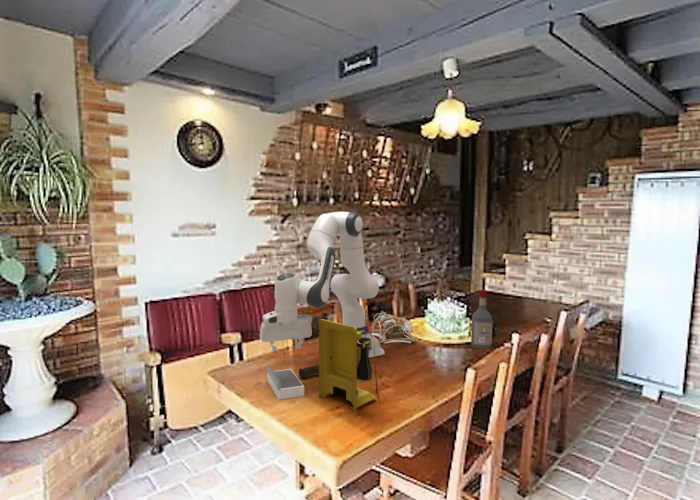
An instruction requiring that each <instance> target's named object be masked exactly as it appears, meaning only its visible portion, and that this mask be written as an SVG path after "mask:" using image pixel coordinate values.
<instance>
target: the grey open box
mask: <svg viewBox="0 0 700 500" xmlns="http://www.w3.org/2000/svg"><path fill="white" fill-rule="evenodd" d="M266 370H267V371H266V374H267V379H266V380H267V382H268V385H269V386H270V388H271V390H272V392H273V393H274V395H275V397H276V399H277V401H280V400H282V401H283V400H287V399H294V398H295V399H296V398H301V397H305V385H304V384H303V383H302V381H301V380H300V379H299V377H298V376H297V375H296V373H295V372H294V371H293V369H292V368H289V369H287V368H285V369H280V370H274V369H273V367H272V366H271V364H267V367H266Z"/></svg>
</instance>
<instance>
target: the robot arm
mask: <svg viewBox="0 0 700 500" xmlns="http://www.w3.org/2000/svg"><path fill="white" fill-rule="evenodd" d="M363 227H364V221H363V218H362V216H361V214H360V213H358V212H354V211H350V212H349V211H333V212H332V211H331V212H329V211H328V212H324V213H322V214H320V215H319V216H318V217H317V219H316V220H315V222H314V223H313V225H312V227H311V230H310V231H309V233H308V237H307V240H306V247H307V250H308V252H309V253H310V254H311V255H312V256H314V257H315V258H316V259H318V260H319V261H320V262H321V263H320V269H319V272H318V276H317V279H316V280H314V281H313V280H311V281H310V280H303V279H301V278H298V277H297V276H296V274H294V273H289V272H287V273H281V274H280V275H278V276H277V277H276V279H275V284H274V300H275V304H274V305H275V306H274V310H273V311H270V312H267V313H265V314H263V315H262V322H261V324H260V329H259V339H260V341H262V343H266V342H267V343H269V345H270V346H271V351H272V353H277V352H278V349H277V348H278V347H277V346H274V344H275V342H277V341H288V340H297V339H298V342H297V343H295V349H296V350H301V345H302V343H303V341H304V339H306V338H311V336H313V329H312V323H313V318H312V316H311V315H310V314H309V313H305V314H301V313H300V314H299V313H298V305H299V304H300V305H304V306H309V307H313V308H316V309H320V308H323V307H324V306H325V305H326V304H327V303H328V302H329V300H330V294H331V292H332V293H334V295H335V296H336V298H337V299H338V301H339V303H340V306H341V312H342V313H341V314H342V318H341V319H342V324H345V325H350V326H354V327H356V328H357V331H358V332H362V337H364V338H370V339H371V342H372V345H371V346H369V359H370V358H376V357H378V356H383V355H385V354H386V353H385V352H386V351H385V350H384V349H383V348H382V347H381V343H380V340H378V339H377V337H375V335H372V336H371V334H369V333H370V332H372V330H373V329H372V326H369V325H367V324H366V309H365V308H364V306H363V305H362V304H360V302H359V301H358V299H360V300H361V299H363V300H367V299H374V298H375V297H376V296H377V294H379V290H380V285H379V282H378V280H377V279H376V278H375V277H374V276H373V275H372V273H370V271H369V269H368V267H367V264H366V262H365V254H364V241H363V236H362V231H363ZM336 237H339V251H340V263H341V265H342V266H343V267H344V268H345V269H346V270H347V271H348V272H349V273H340V274H339V273H338V274H335V275H333V273H334V269H335V263H336V262H335V261H336V250H335V249H334V244H335V240H336ZM367 332H368V333H367ZM366 333H367V335H366ZM365 336H366V337H365ZM372 337H373V340H372ZM373 341H374V343H373ZM374 349H375V355H374Z"/></svg>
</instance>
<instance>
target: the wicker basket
mask: <svg viewBox="0 0 700 500" xmlns="http://www.w3.org/2000/svg"><path fill="white" fill-rule="evenodd" d="M377 315H378V316H377ZM376 316H377V317H376ZM375 317H376V318H375ZM373 319H374V320H373V322H372V325H371V327H372V331H371V333H370V332H369V333H370V334H372V335H373V336H374V337H375V336H376V337H379V343H380V344H382V343H383V344H389V343H408V344H411V343H412V341H413V342H415V339H414V338H413V336H412V332H411V330H412V329H413V326H412V323H411V321H410V320H409V319H407V318H405V317H397V316H395V315H394V314H389V313H388V314H387V313H386V312H384V311H383V310H381V311H380V313H376V314H375V315H374V317H373ZM395 319H396V320H397V321H396V320H395ZM382 322H383V323H382ZM377 323H378V325H377ZM381 323H382V324H381ZM382 326H383V328H382ZM375 327H377V328H378V329H375ZM412 331H413V330H412ZM407 332H408V333H407ZM386 336H388V337H386ZM409 336H410V337H409ZM387 338H389V339H387Z"/></svg>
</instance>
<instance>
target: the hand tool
mask: <svg viewBox="0 0 700 500" xmlns="http://www.w3.org/2000/svg"><path fill="white" fill-rule="evenodd" d="M317 374H319V364H317V365H313V366H309V367H308V366H307V367H304V368H298V376H299V378H301V379H304V378H307V377H309V376H312V375H317Z"/></svg>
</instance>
